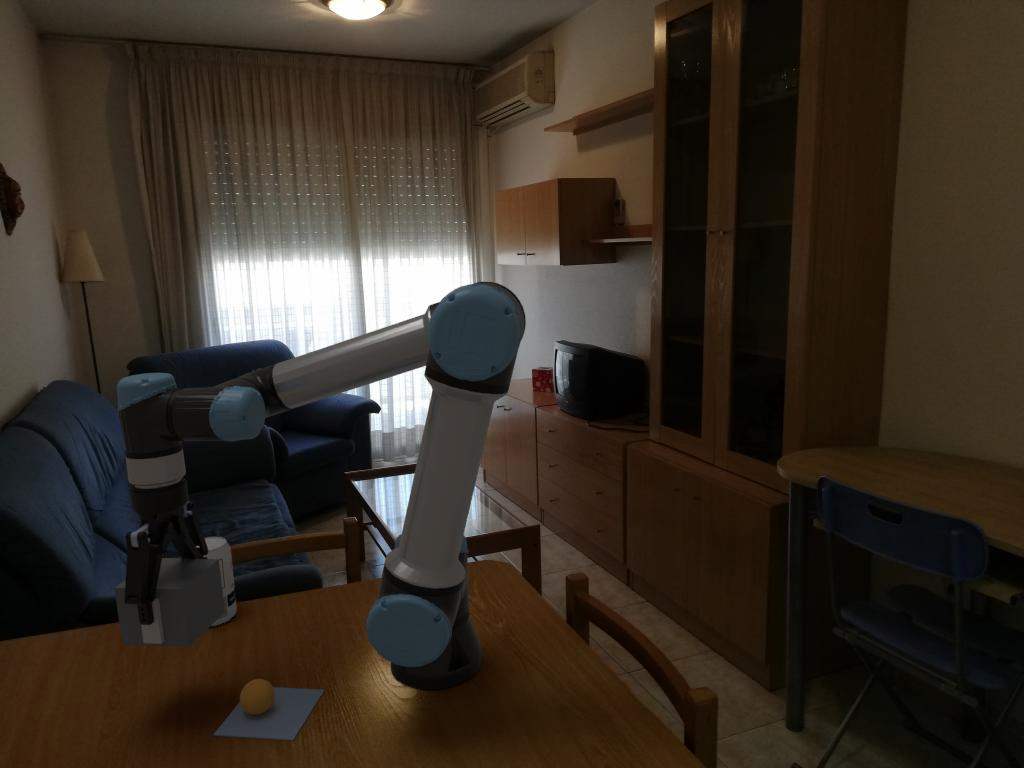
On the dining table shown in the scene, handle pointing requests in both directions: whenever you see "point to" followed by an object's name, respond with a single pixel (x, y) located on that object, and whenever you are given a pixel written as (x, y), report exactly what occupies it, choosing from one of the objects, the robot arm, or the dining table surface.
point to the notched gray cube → (177, 602)
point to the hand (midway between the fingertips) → (175, 622)
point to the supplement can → (223, 575)
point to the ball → (257, 696)
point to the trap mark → (273, 716)
